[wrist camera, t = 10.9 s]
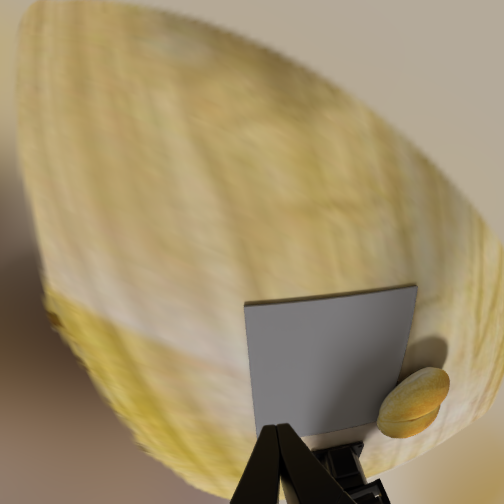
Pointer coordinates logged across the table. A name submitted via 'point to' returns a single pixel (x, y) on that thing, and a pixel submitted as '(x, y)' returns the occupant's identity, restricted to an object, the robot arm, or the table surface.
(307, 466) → the robot arm
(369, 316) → the serving mat
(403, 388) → the bread roll
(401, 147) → the table surface
